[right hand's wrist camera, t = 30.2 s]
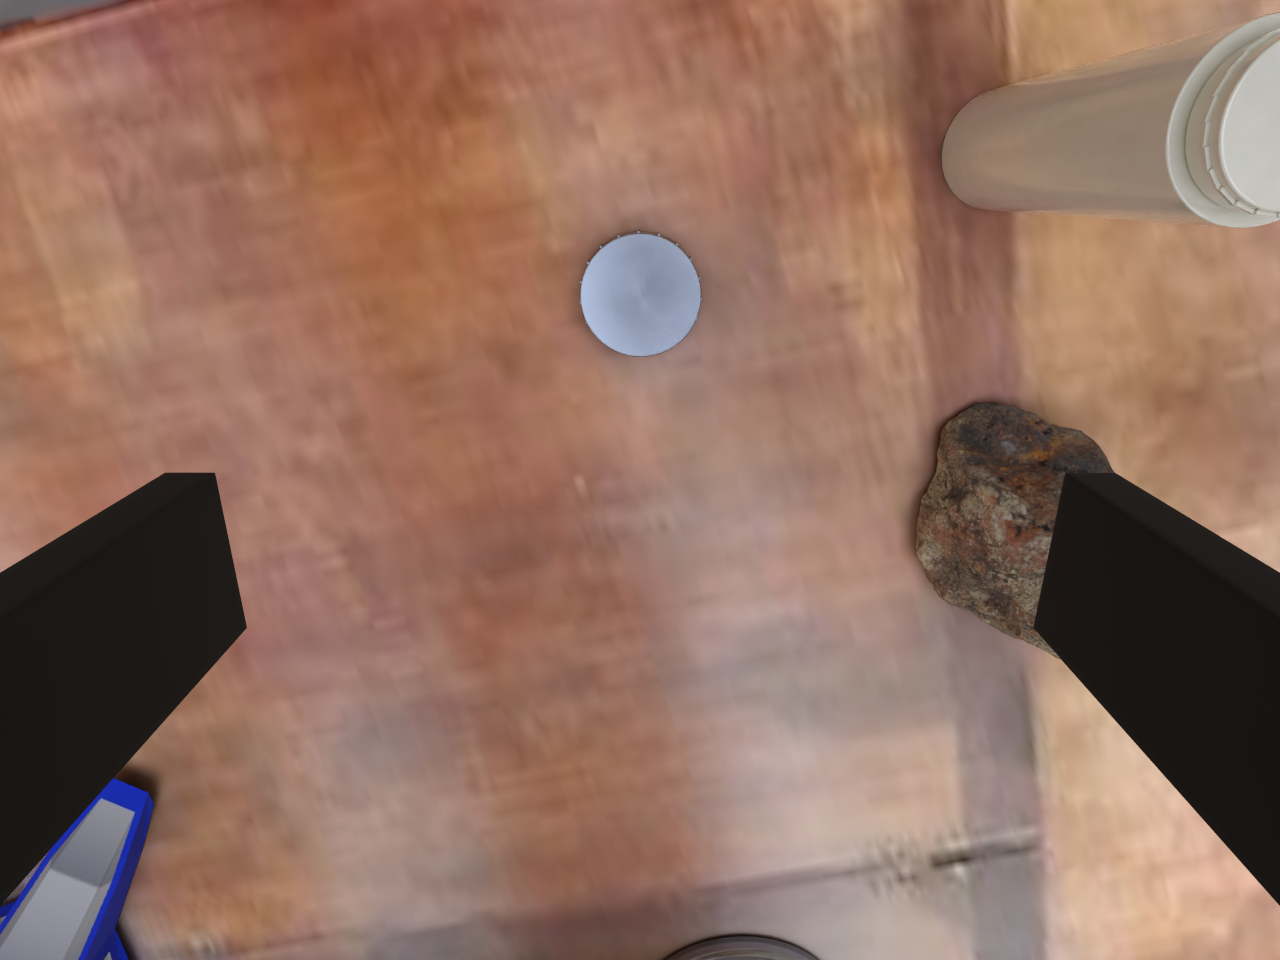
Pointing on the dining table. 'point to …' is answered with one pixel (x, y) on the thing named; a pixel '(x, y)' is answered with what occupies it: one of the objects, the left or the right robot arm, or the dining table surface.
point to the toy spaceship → (81, 884)
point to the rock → (998, 511)
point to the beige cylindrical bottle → (1134, 135)
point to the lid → (640, 294)
